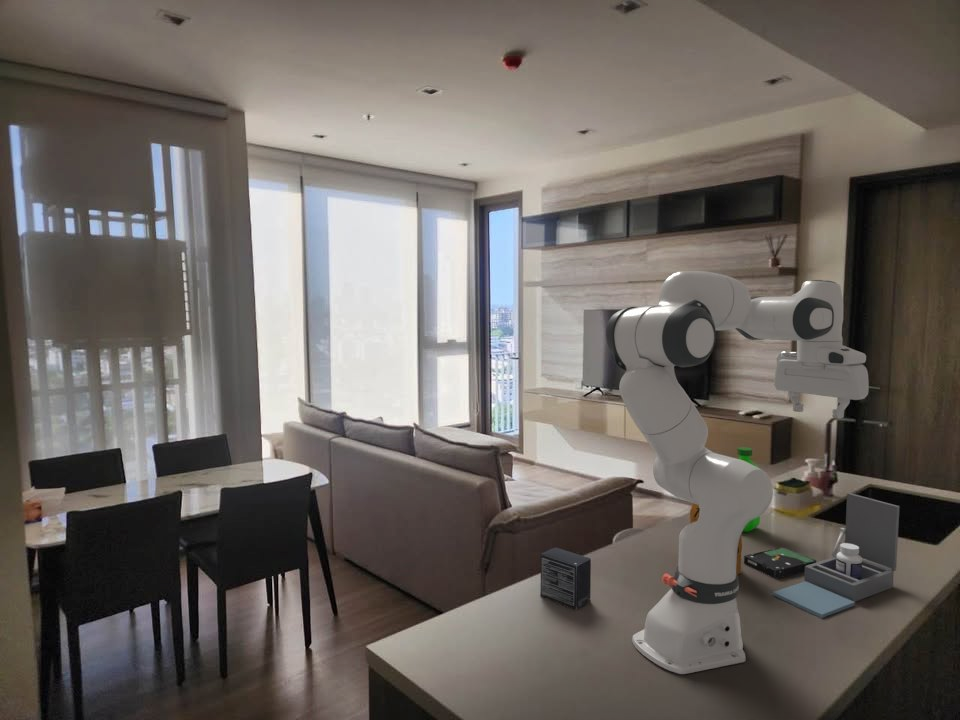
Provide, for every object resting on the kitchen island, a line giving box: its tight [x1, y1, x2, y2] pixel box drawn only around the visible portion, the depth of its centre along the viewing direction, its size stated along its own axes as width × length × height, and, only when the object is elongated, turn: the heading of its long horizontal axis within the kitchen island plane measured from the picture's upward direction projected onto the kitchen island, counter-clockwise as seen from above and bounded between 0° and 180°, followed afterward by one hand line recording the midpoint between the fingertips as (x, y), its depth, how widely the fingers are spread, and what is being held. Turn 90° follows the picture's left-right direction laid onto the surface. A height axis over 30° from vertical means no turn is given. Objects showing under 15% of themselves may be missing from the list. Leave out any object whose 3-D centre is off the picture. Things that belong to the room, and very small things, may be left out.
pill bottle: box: [835, 542, 862, 580], centre depth 148 cm, size 5×5×10 cm
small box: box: [539, 547, 592, 611], centre depth 142 cm, size 11×6×10 cm, turn 47°
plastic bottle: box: [736, 446, 761, 533], centre depth 185 cm, size 10×10×25 cm
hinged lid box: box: [803, 492, 900, 603], centre depth 148 cm, size 17×13×20 cm
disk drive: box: [743, 547, 817, 579], centre depth 159 cm, size 10×3×15 cm
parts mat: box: [772, 581, 856, 619], centre depth 141 cm, size 12×12×1 cm
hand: (817, 414), depth 136 cm, fingers open, 8 cm apart
